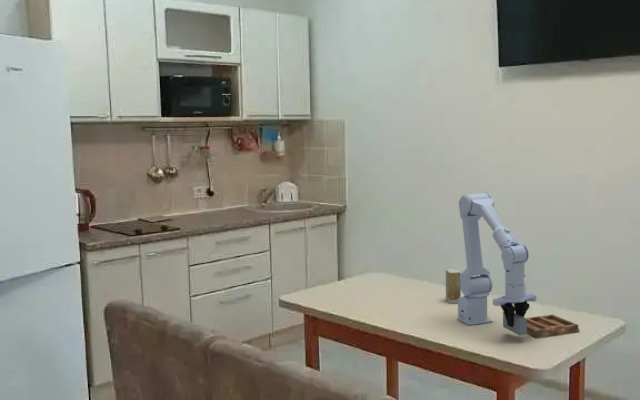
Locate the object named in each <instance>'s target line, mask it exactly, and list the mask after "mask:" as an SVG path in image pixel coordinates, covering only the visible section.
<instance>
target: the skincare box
mask: <svg viewBox="0 0 640 400" xmlns="http://www.w3.org/2000/svg"><path fill="white" fill-rule="evenodd" d="M461 273H462V272H461V271H460V270H458V269H457V268H450V269H449V268H447V269H445V300H446V302H447V303H448V304H451V305H452V304H458V300H459V298H461V297H462V295H461V293H462V291H461V289H460V282H461Z"/></svg>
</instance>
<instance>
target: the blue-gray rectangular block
mask: <svg viewBox="0 0 640 400" xmlns="http://www.w3.org/2000/svg"><path fill="white" fill-rule="evenodd" d="M527 318H528V317H525V316H524V317H522V316H520V315H518V314H516V313H514V325H513V327H510V326H508V324H507V320H506V317H505V314H504V312H502V327H503V328H505V329H507V330H509V331H510V332H513V333H515V334H516V335H518V336H523V335H524V336H525V335H528V334H527Z"/></svg>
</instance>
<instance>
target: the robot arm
mask: <svg viewBox="0 0 640 400" xmlns="http://www.w3.org/2000/svg"><path fill="white" fill-rule="evenodd" d="M458 208H459V209H458V210H459V217H460V219H461V222H462V230H463V231H462V232H463V240H464V241H463V242H464V248H465V249H464V251H465V259H466V268H465V269H464V270H463V271H462V272H461V282H460V289H461V293H462V294H463V296H461V298H459V300H458V303H457V317H456V320H458V321H460V322H462V323H464V324H465V325H468V326H471V325H479V324H486V323H493V320H492V319H490V318H488V296H489V295H490V293H491V292H492V289H493V287H494V286H493V283H494V282H493V281H492V278H491V275H490V271H489V270H488V269H487V268H485V267H484V265H483V257H482V247H481V237H480V228H479V220H480V219H481V218H483V220H484V221H485V223H487V225H488V226H489V227H490V229H491V231H493V233H492V238H493V240H494V241H495V243H496V244H497V246H498V247H499V250H500V251H501V254H500V256H501V260H502V263H503V269H504V270H505V272H504V273H505V275H504V279H505V284H504V285H505V286H504V289H505V290H504V293H505V294H504V295H502V296H500V297H497V298H496V297H495V298H493V299H492V305H493V306H495V307H499V306H500V308H501V310H502V311H503V312H504V314H505V317H506V320H507V324H508V326H510V327H513V325H514V313H516V314H518V315H520V316H522V317H525V316H526V313H527V311H528V309H529V308H530V303H529V302H537V294H533V293H529V294H528V293H527V294H524V275H525V264H526V262H528V259H529V258H530V257H529V256H530V255H529V250H528V248H527V246H526V245H525V244H524V243H521V242H519V241H518V240H517V239H516V237H515V235H514V233H512V231H511V229H510V228H509V227H508V226H504V225H503V223H502V221H501V219H500V218H499V215H498V214H497V212H496V210H495V201H494V198H493V196H492V195H491V194H490V193H489V192H484V193H482V192H481V193H471V194H470V193H469V194H467V193H465V194H462V195H461V196H460V198H459V201H458ZM513 303H514V306H513V305H512V304H513ZM503 312H502V313H503Z"/></svg>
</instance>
